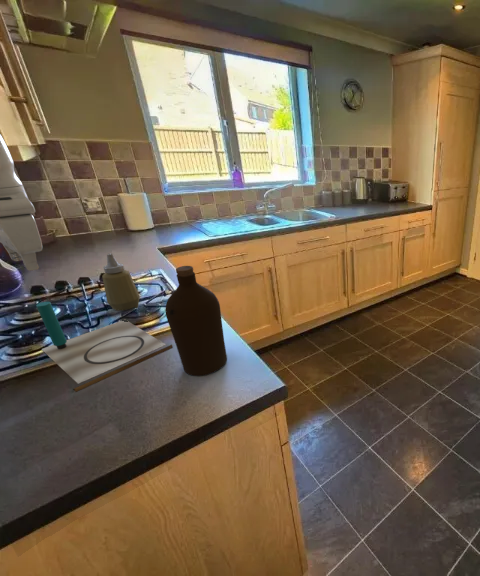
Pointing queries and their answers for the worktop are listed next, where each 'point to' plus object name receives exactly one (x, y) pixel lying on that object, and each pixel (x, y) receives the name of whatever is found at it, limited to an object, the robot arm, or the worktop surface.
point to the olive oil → (196, 325)
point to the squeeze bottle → (119, 286)
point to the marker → (52, 324)
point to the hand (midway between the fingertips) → (25, 264)
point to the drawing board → (104, 352)
